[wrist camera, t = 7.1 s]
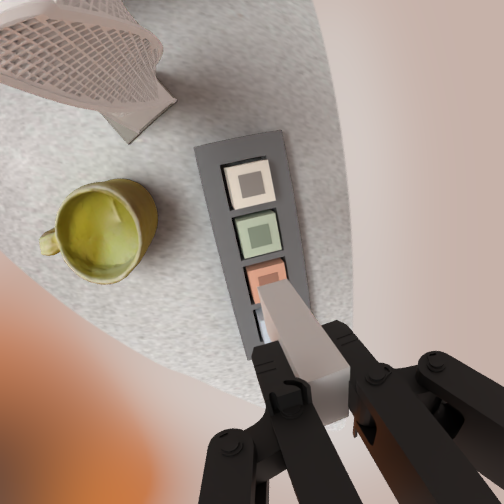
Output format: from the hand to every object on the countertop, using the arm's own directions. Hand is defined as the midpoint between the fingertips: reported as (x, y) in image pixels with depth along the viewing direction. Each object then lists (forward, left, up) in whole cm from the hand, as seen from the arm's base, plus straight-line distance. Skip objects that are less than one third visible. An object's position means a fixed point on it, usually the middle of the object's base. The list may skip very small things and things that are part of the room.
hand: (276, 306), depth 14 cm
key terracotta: (+7, +2, -19) cm, 20 cm away
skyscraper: (-16, -7, -20) cm, 26 cm away
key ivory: (-4, +2, -18) cm, 19 cm away
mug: (-4, -14, -20) cm, 24 cm away
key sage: (+1, +2, -19) cm, 19 cm away
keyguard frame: (+4, +2, -20) cm, 20 cm away
